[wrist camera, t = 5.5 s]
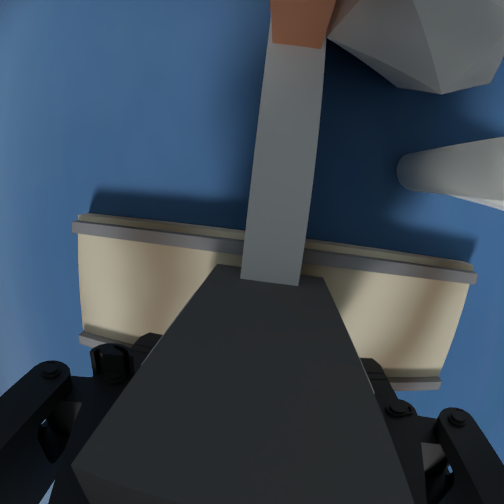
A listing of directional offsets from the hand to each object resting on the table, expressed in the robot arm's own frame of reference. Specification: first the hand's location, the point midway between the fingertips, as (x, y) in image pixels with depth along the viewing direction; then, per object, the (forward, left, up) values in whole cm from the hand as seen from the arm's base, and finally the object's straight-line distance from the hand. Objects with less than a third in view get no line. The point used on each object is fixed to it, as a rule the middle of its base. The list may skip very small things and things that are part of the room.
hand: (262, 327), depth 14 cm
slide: (0, 0, -2) cm, 2 cm away
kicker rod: (0, +9, -2) cm, 9 cm away
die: (+5, +16, -2) cm, 17 cm away
